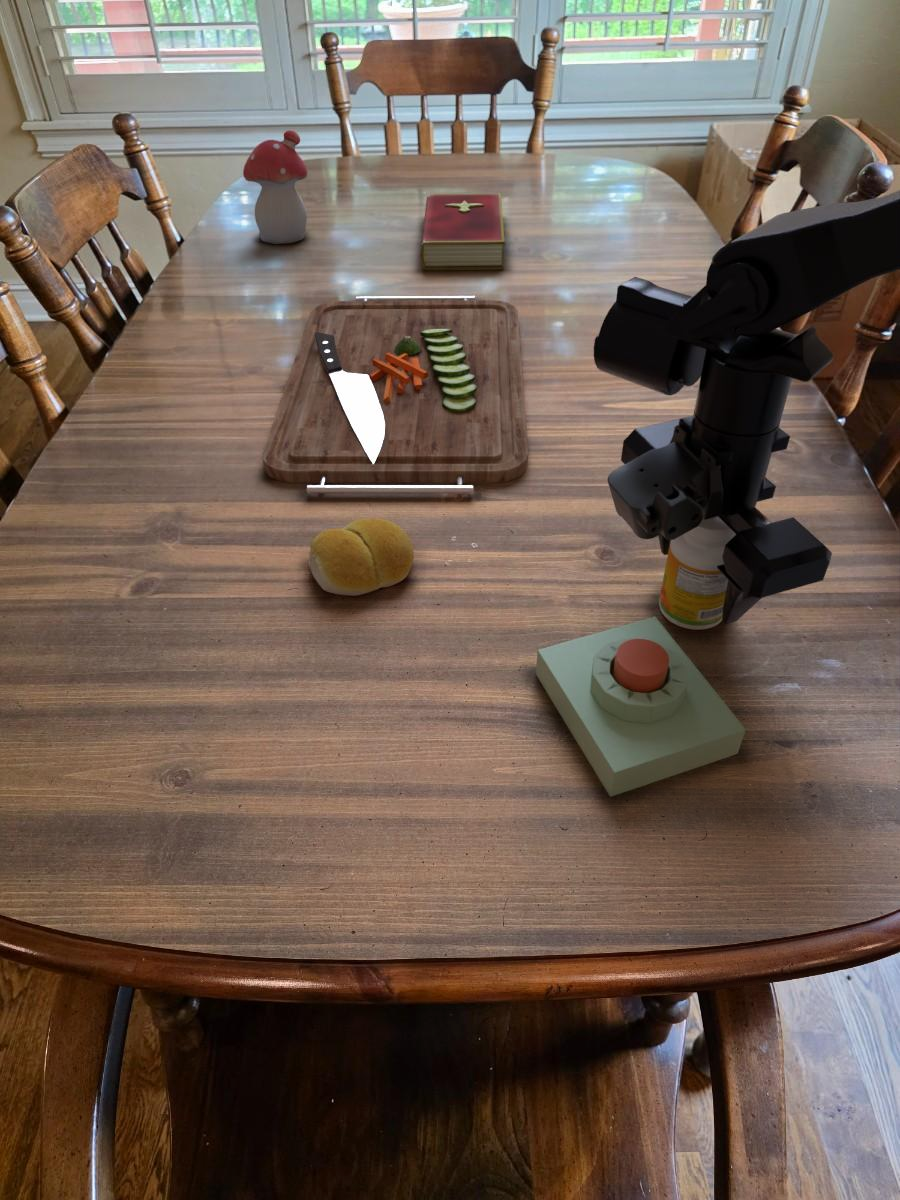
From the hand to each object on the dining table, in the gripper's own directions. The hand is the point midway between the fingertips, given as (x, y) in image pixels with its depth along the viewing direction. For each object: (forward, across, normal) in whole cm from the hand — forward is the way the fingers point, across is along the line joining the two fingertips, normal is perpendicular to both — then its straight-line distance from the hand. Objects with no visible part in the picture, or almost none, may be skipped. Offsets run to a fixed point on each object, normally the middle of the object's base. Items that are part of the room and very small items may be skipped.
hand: (697, 586), depth 70 cm
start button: (-2, +8, -10) cm, 13 cm away
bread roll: (+3, -15, -24) cm, 28 cm away
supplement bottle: (+3, 0, 0) cm, 3 cm away
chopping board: (+3, -45, -10) cm, 46 cm away
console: (+3, +8, -10) cm, 13 cm away
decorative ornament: (+3, -97, -13) cm, 98 cm away
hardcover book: (+3, -84, +12) cm, 85 cm away
